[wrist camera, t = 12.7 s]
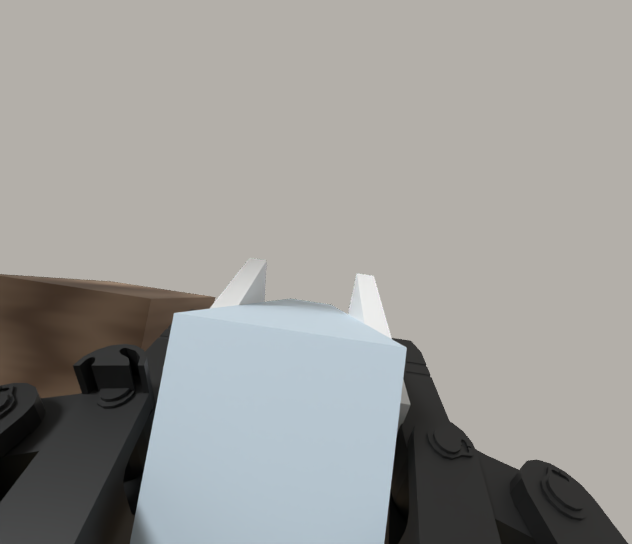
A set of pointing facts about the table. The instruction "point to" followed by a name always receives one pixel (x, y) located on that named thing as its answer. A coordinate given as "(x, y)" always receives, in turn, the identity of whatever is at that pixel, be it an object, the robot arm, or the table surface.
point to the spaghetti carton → (272, 429)
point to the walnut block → (76, 325)
